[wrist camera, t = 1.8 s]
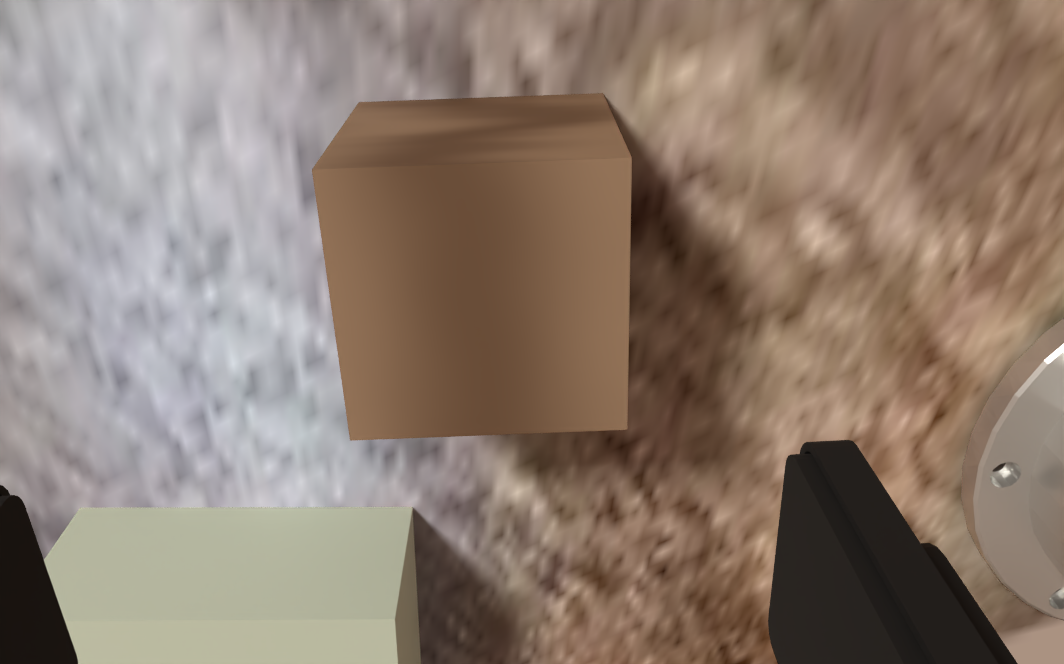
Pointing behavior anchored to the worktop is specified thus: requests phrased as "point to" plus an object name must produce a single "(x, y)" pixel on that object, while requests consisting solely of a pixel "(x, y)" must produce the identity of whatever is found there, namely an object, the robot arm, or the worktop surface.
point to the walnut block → (479, 265)
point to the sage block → (239, 585)
